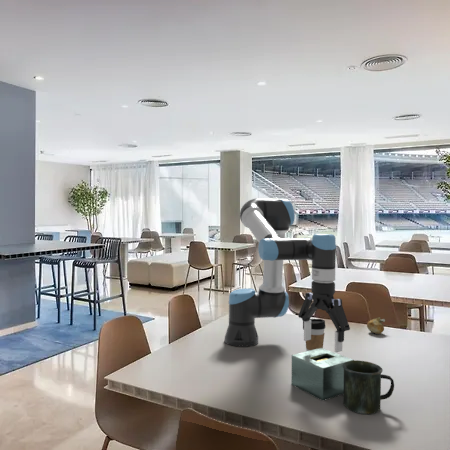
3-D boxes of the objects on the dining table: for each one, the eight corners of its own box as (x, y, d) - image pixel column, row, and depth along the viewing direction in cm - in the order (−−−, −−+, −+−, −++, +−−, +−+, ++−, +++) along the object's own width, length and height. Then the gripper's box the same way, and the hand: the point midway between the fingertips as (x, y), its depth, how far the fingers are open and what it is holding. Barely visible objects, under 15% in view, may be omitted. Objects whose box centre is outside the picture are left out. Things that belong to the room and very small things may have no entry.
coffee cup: (325, 361, 156) (326, 323, 155) (303, 360, 157) (303, 322, 157) (324, 354, 164) (325, 318, 164) (303, 353, 166) (304, 317, 165)
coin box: (291, 384, 134) (291, 354, 134) (321, 376, 141) (321, 347, 141) (322, 400, 122) (323, 368, 122) (353, 390, 130) (353, 359, 130)
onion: (369, 330, 201) (369, 314, 201) (385, 333, 197) (386, 316, 197) (364, 333, 195) (365, 317, 195) (381, 336, 191) (382, 319, 190)
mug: (339, 397, 125) (340, 359, 125) (389, 401, 122) (390, 362, 122) (343, 413, 114) (344, 372, 114) (398, 419, 111) (398, 376, 111)
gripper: (288, 276, 140) (287, 337, 140) (345, 288, 119) (344, 359, 119) (304, 275, 144) (303, 334, 144) (362, 285, 123) (361, 354, 123)
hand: (322, 345), depth 132 cm, fingers open, 13 cm apart
